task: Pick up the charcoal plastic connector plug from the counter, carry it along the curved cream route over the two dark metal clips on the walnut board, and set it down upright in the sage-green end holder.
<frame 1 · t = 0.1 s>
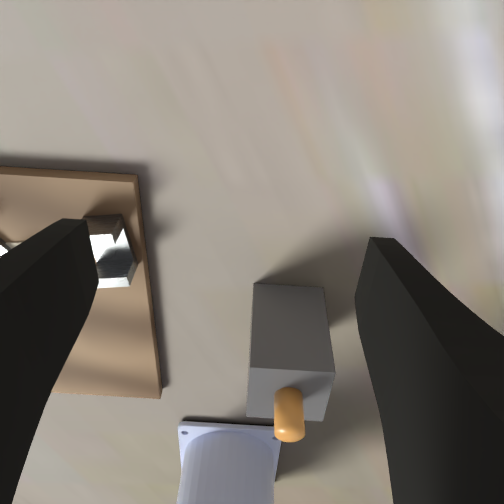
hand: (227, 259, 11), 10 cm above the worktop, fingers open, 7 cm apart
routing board: (19, 294, 26), on the worktop
connector plug: (285, 310, 26), on the worktop
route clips: (13, 303, 26), resting on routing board
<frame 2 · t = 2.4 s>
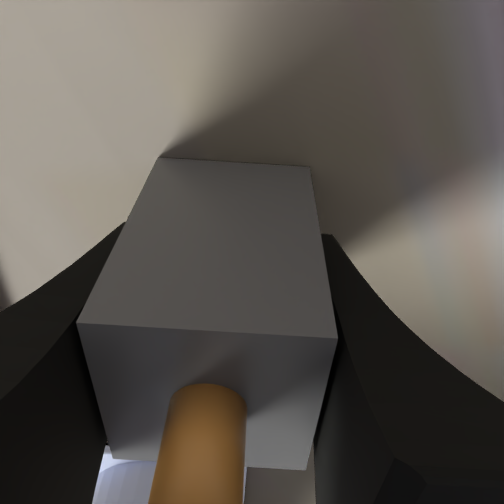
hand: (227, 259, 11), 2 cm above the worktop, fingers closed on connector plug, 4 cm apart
connector plug: (232, 225, 13), on the worktop, touching gripper
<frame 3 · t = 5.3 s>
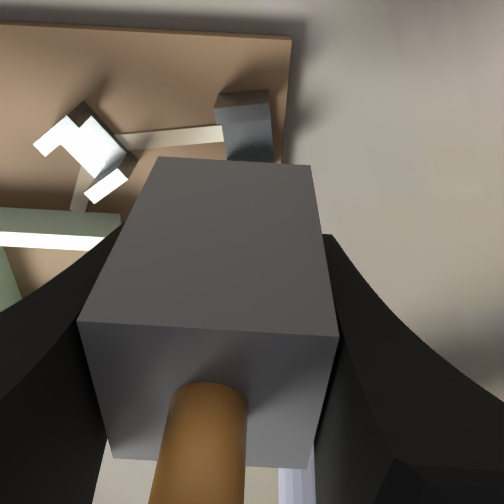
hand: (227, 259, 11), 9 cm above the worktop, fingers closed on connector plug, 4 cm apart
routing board: (114, 214, 22), on the worktop
connector plug: (232, 224, 13), point 8 cm above the worktop, touching gripper
end holder: (61, 267, 23), resting on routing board
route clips: (110, 222, 21), resting on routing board
when the fingers open (4 cm above the worktop, at t = 8.3 s): connector plug drops 1 cm, resting on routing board.
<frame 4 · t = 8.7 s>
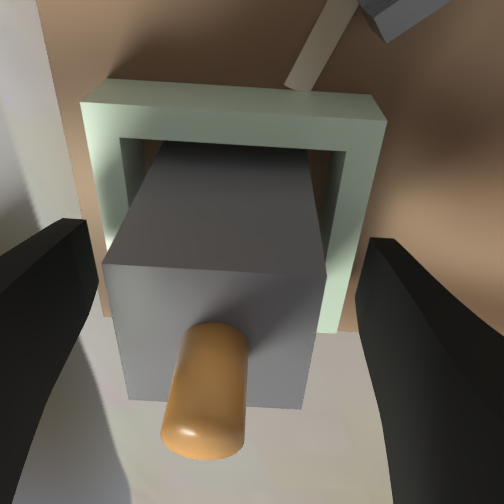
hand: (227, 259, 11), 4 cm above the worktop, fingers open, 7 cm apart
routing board: (343, 104, 13), on the worktop
connector plug: (234, 200, 14), point 1 cm above the worktop, touching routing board
end holder: (235, 202, 14), resting on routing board
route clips: (347, 113, 12), resting on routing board
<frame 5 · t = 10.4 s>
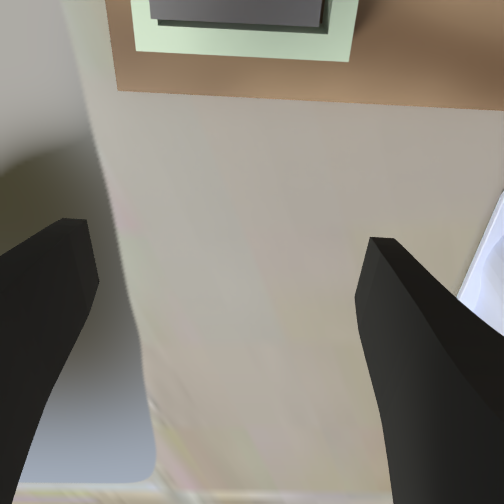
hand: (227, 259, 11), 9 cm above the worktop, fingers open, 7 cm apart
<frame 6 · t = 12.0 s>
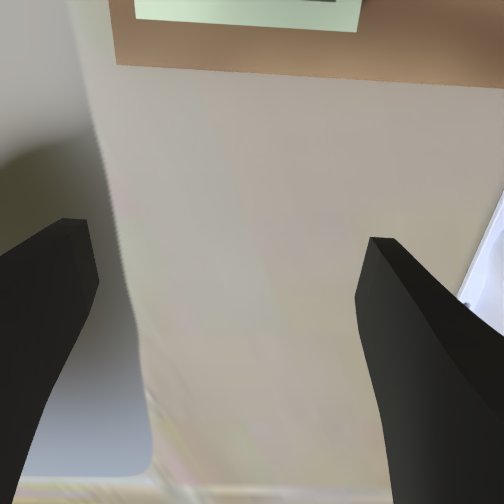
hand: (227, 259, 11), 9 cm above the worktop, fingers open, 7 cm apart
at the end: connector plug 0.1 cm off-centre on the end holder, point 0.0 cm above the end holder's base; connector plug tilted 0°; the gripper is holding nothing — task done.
